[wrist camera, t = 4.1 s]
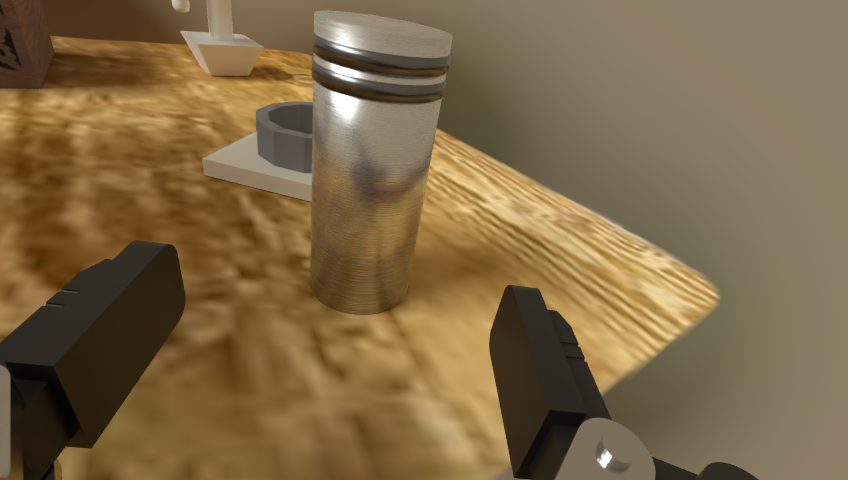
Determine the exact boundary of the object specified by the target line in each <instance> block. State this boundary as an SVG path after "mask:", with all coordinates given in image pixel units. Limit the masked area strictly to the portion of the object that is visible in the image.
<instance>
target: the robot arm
mask: <svg viewBox="0 0 848 480" xmlns="http://www.w3.org/2000/svg"><path fill="white" fill-rule="evenodd" d="M184 307H185V291H184V286H183V280H182V275H181V270H180V265H179V259H178V254H177V251H176V248H175V247H174V246H173V245H170V244H162V243H154V242H146V241H133V242H132V243H130V244H129V245H128V246H127V247H126V248H125V249H124V250H123V251H122V252H121V253H119V254H118V255H117V256H116V257H115V258H114V259H113V260H110V259H105V260H103V261H101V262H99V263H97V264H95V265H93V266H91V267H89V268H87V269H85V270H83V271H81V272H80V273H79V274H78V275H77V276H75V277H74V278H73V279H72V280H71V281H70V282H69V283H67V284H66V285H65V286H64V287H63V288H62V291H61V292H57V293H56V294H55V295H54V296H53V297H52V298H50V299H49V300H48V301H47V302H46V306H41V307H40V308H39V309H38V310H37V311H36V312H35V313H33V314H32V315H31V316H30V317H29V318H28V319H27V320H26V321H24V322H23V323H22V324H21V325H20V326H19V327H18V328H16V329H15V330H14V331H13V332H12V333H11V334H10V335H9V336H7V337H6V338H5V339H4V340H3V341H2V342H1V343H0V480H62V470H61V465H60V463H59V461H58V459H57V457H58V456H59V454H60V453H61V452H62V450H63V449H64V448H65V447H79V448H92V447H93V445H94V444H95V443H96V441H97V440H98V438H99V437H100V435H101V434H102V432H103V431H104V429H105V428H106V427H107V425H108V424H109V422H110V421H111V419H112V418H113V416H114V415H115V413H116V412H117V411H118V409H119V408H120V406H121V405H122V403H123V402H124V400H125V399H126V398H127V396H128V395H129V393H130V392H131V390H132V389H133V387H134V386H135V384H136V383H137V382H138V380H139V379H140V377H141V376H142V374H143V373H144V371H145V370H146V368H147V367H148V366H149V364H150V363H151V361H152V360H153V358H154V357H155V355H156V354H157V352H158V351H159V350H160V348H161V347H162V345H163V344H164V342H165V341H166V339H167V338H168V336H169V335H170V334H171V332H172V331H173V329H174V328H175V326H176V325H177V323H178V322H179V320H180V318H181V316H182V314H183V311H184ZM489 348H490V356H491V361H492V366H493V371H494V376H495V382H496V387H497V392H498V397H499V403H500V408H501V413H502V418H503V423H504V429H505V434H506V439H507V444H508V449H509V455H510V460H511V465H512V470H513V475H514V478H519V479H531V480H758V479H757V478H755V477H754V476H753V475H751V474H750V473H748V472H746V471H745V470H743V469H741V468H738V467H737V466H734V465H731V464H727V463H722V462H716V463H711V464H709V465H708V466H707V467H706V468H704V470H703V471H702V472H701V473H700V474H699V475H697V474H694V473H692V472H689V471H686V470H684V469H681V468H679V467H676V466H674V465H671V464H669V463H666V462H664V461H661V460H658V459H656V458H654V457H652V456H651V454H650V453H649V451H648V449H647V448H646V446H645V445H644V444H643V443H642V441H641V440H640V439H639V438H638V437H637V436H636V435H635V434H634V433H633V432H631V431H630V430H629V429H627V428H626V427H624V426H623V425H621V424H619V423H617V422H614V421H612V419H611V417H610V415H609V413H608V410H607V408H606V406H605V403H604V401H603V399H602V396H601V394H600V392H599V390H598V387H597V385H596V383H595V380H594V378H593V376H592V374H591V371H590V369H589V367H588V364H587V362H585V361H584V359H585V357H584V355H583V353H582V351H581V348H580V347H578V341H577V339H576V337H575V335H574V332H573V330H572V328H571V326H570V325H569V324H568V323H567V322H566V321H565V319H564V318H563V317H562V316H561V315H560V314H559V313H558V312H557V311H554V310H547V308H546V305H545V302H544V300H543V297H542V295H541V292H540V290H539V289H537V288H530V287H522V286H514V285H508V286H507V287H506V288H505V291H504V293H503V296H502V299H501V302H500V305H499V308H498V311H497V314H496V316H495V319H494V322H493V325H492V328H491V333H490V341H489Z"/></svg>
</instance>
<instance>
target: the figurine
mask: <svg viewBox="0 0 848 480" xmlns="http://www.w3.org/2000/svg"><path fill="white" fill-rule="evenodd" d="M206 4H207V13H208V23H209V33H207V32H190V31H180V32H181V34H182V35H183V37H184V39H185V40H186V42H187V44H188V46H189V47H190V49H191V51H192V52H193V54H194V56H195V58H196V59H197V61H198V63H199V65H200V66H201V67H202V68H203V69H204V70H205V71H206V72H208V73H209V74H210V75H211V76H249V75H250V73H251V71H252V69H253V67H254V65H255V63H256V61H257V59H258V58H259V56H260V54H261V52H262V50H263V48H264V47H263V46H261V45H260V44H258V43H256V42H254V41H253V40H251V39H249V38H248V37H246V36H244V35H240V34H233V27H232V13H231V0H206ZM172 5H173V7H174V9H175V10H177V11H179V12H188V11H189V9H190V5H189V0H172Z"/></svg>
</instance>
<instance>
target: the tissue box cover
mask: <svg viewBox="0 0 848 480" xmlns="http://www.w3.org/2000/svg"><path fill="white" fill-rule="evenodd" d="M54 53H55V52H54V49H53V45H52V42H51V39H50V35H49V32H48V28H47V25H46V22H45V18H44V15H43V12H42V8H41V5H40V1H39V0H0V88H23V89H41V87H42V84H43V82H44V79H45V76H46V74H47V71H48V69H49V66H50V63H51V61H52V58H53V56H54Z"/></svg>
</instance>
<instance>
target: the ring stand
mask: <svg viewBox="0 0 848 480" xmlns="http://www.w3.org/2000/svg"><path fill="white" fill-rule="evenodd" d="M256 128H257V131H256V132H254V133H252V134H250V135H248V136H246V137H244V138H242V139H240V140H238V141H236V142H234V143H232V144H230V145H228V146H226V147H224V148H222V149H220V150H218V151H216V152H214V153H212V154H210V155H208V156H206V157H204V158H202V163H203V170H204V175H206V176H210V177H214V178H218V179H222V180H226V181H230V182H234V183H238V184H242V185H246V186H250V187H254V188H258V189H262V190H266V191H270V192H274V193H278V194H282V195H286V196H290V197H294V198H298V199H302V200H306V201H310V202H311V198H312V137H313V103H312V102H298V101H296V102H285V103H274V104H270V105H268V106H265V107H263V108H261V109H258V110H256Z"/></svg>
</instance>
